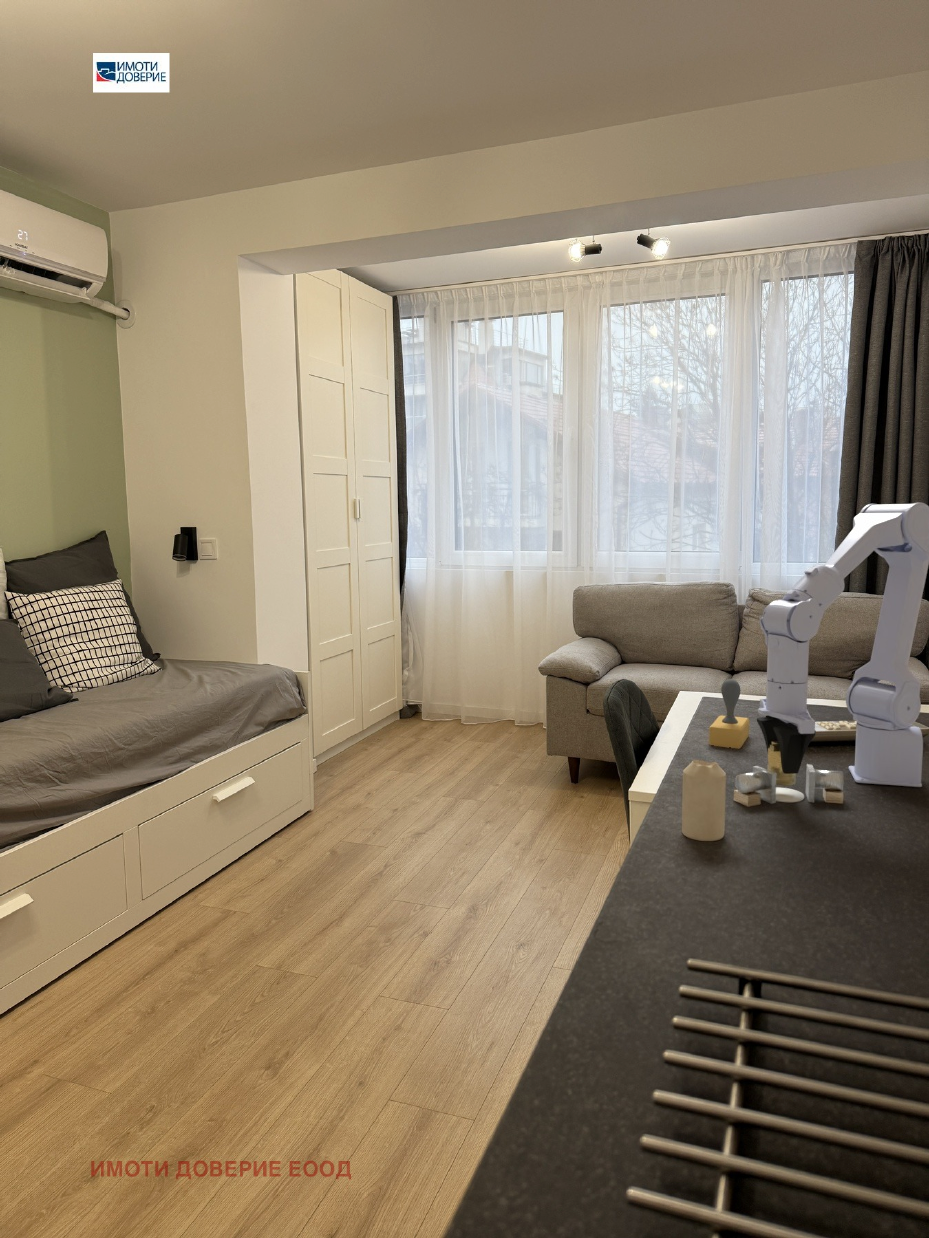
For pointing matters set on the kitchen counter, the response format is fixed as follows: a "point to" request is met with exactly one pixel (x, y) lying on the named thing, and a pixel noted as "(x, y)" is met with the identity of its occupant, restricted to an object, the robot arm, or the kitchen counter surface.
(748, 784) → the shaft
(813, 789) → the shaft
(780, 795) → the seat
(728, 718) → the rubber stamp
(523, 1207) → the kitchen counter surface
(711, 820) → the candle
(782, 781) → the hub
